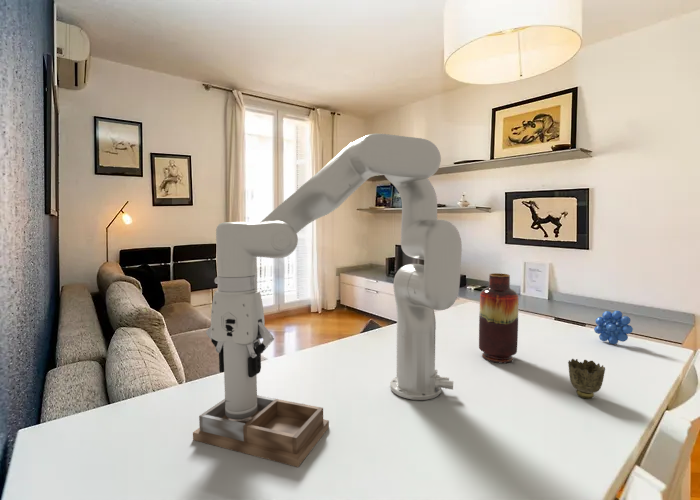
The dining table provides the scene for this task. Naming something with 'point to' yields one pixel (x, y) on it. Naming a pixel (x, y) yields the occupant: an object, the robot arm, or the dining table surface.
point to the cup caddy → (266, 430)
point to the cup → (586, 377)
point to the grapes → (613, 327)
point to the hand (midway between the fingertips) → (240, 371)
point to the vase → (498, 320)
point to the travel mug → (238, 379)
